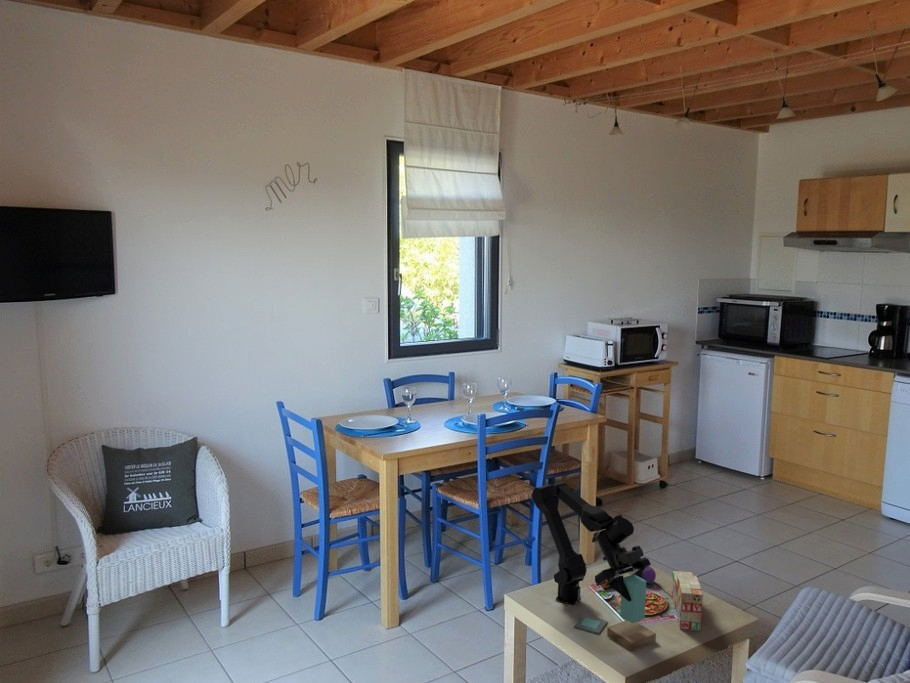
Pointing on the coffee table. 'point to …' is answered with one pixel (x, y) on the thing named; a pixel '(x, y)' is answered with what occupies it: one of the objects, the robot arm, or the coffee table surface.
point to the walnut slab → (631, 635)
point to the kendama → (646, 575)
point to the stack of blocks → (687, 600)
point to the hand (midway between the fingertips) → (636, 598)
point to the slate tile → (590, 624)
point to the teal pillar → (634, 599)
